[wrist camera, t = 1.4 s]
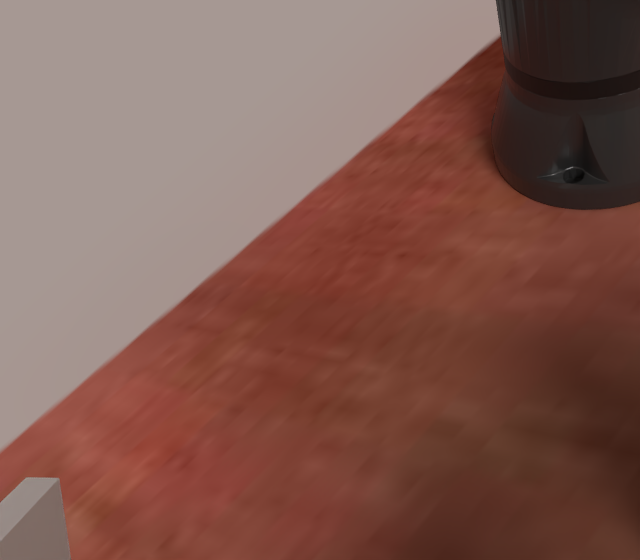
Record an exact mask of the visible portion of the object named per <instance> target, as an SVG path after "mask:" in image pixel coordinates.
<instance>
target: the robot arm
mask: <svg viewBox="0 0 640 560" xmlns="http://www.w3.org/2000/svg"><path fill="white" fill-rule="evenodd" d="M496 4H497V11H498V18H499V25H500V32H501V39H502V46H503V52H504V60H505V72H504V76H503V80H502V84H501V88H500V92H499V97H498V101H497V105H496V110H495V113H494V116H493V120H492V126H491V140H492V146H493V151H494V157H495V161H496V164H497V167H498V169H499V171H500V173H501V174H502V176H503V177H504V179H505V180H506V181H507V182H508V183H509V184H510V185H511V186H512V187H513V188H515V189H516V190H517V191H519V192H520V193H522V194H523V195H525V196H527V197H529V198H531V199H534V200H536V201H539V202H541V203H544V204H548V205H552V206H556V207H562V208H569V209H583V210H586V209H606V208H613V207H620V206H624V205H629V204H633V203H636V202H640V0H496ZM0 560H71V556H70V549H69V542H68V535H67V528H66V522H65V515H64V508H63V501H62V494H61V487H60V480H59V478H30V477H26V478H25V479H24V480H23V481H22V482H21V483H20V484H19V485H18V486H17V487H16V488H15V489H14V490H13V491H12V492H11V493H10V494H9V495H8V496H7V497H6V498H5V499H4V500H3V501H2V502H0Z"/></svg>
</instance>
